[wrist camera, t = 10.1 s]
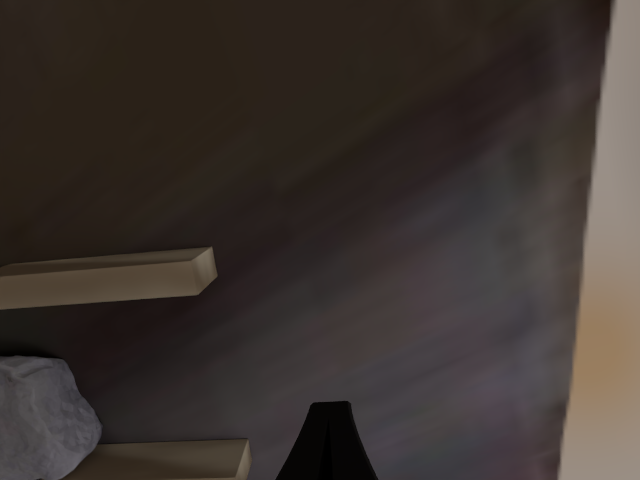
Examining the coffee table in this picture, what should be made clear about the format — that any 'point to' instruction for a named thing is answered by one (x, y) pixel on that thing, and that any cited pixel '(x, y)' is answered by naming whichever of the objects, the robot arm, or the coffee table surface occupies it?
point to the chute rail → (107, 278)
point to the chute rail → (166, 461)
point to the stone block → (42, 419)
